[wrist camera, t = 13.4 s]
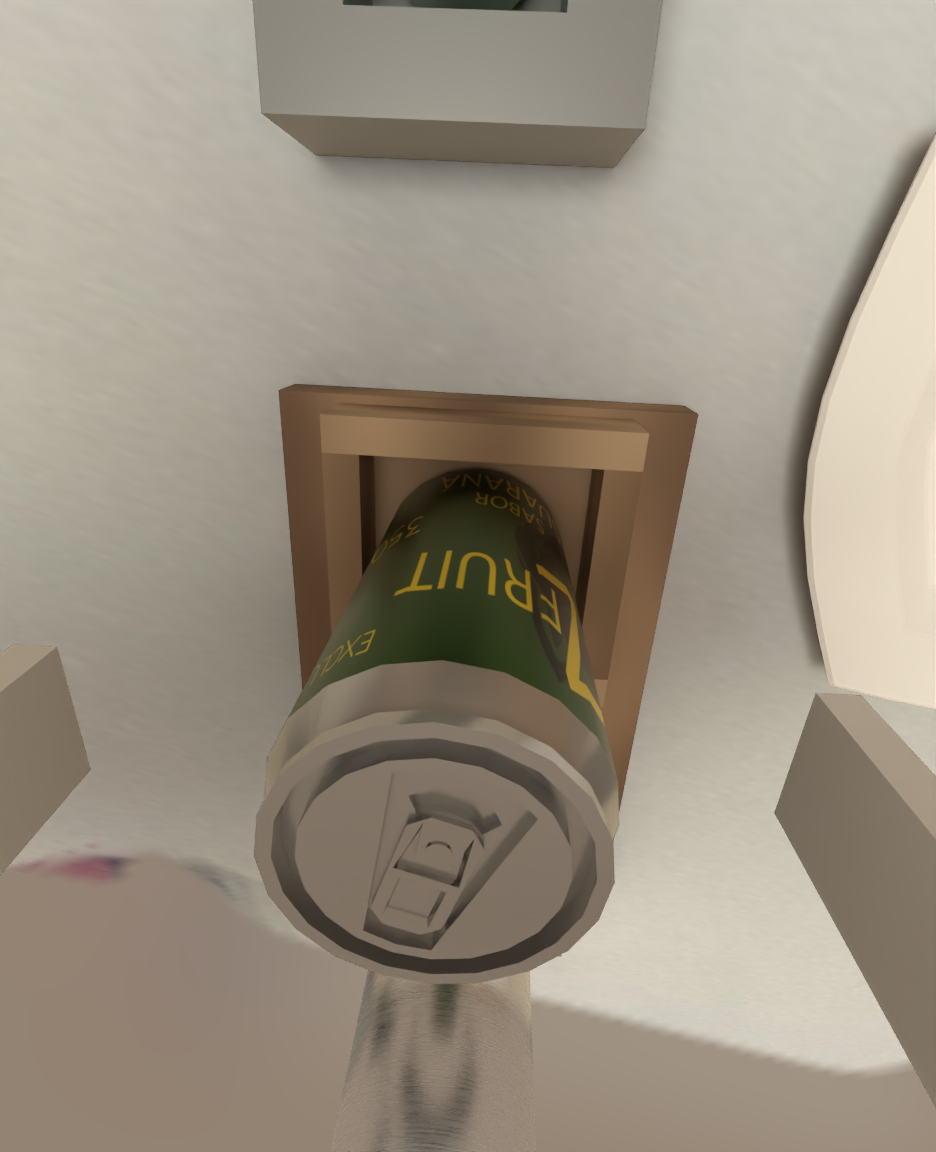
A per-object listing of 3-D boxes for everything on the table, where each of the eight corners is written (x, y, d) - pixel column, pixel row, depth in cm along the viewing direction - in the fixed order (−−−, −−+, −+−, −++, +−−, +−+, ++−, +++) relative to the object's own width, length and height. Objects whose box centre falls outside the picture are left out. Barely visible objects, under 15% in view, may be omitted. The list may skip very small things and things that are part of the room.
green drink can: (521, 642, 21) (539, 1030, 10) (369, 589, 20) (205, 934, 9) (588, 499, 18) (710, 788, 7) (420, 436, 18) (283, 646, 7)
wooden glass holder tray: (328, 864, 28) (304, 938, 24) (295, 384, 19) (252, 400, 16) (593, 887, 27) (604, 964, 24) (683, 405, 19) (720, 427, 15)
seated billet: (399, 867, 25) (317, 1298, 14) (399, 774, 23) (303, 1194, 12) (519, 877, 25) (529, 1320, 14) (530, 785, 23) (551, 1219, 12)
